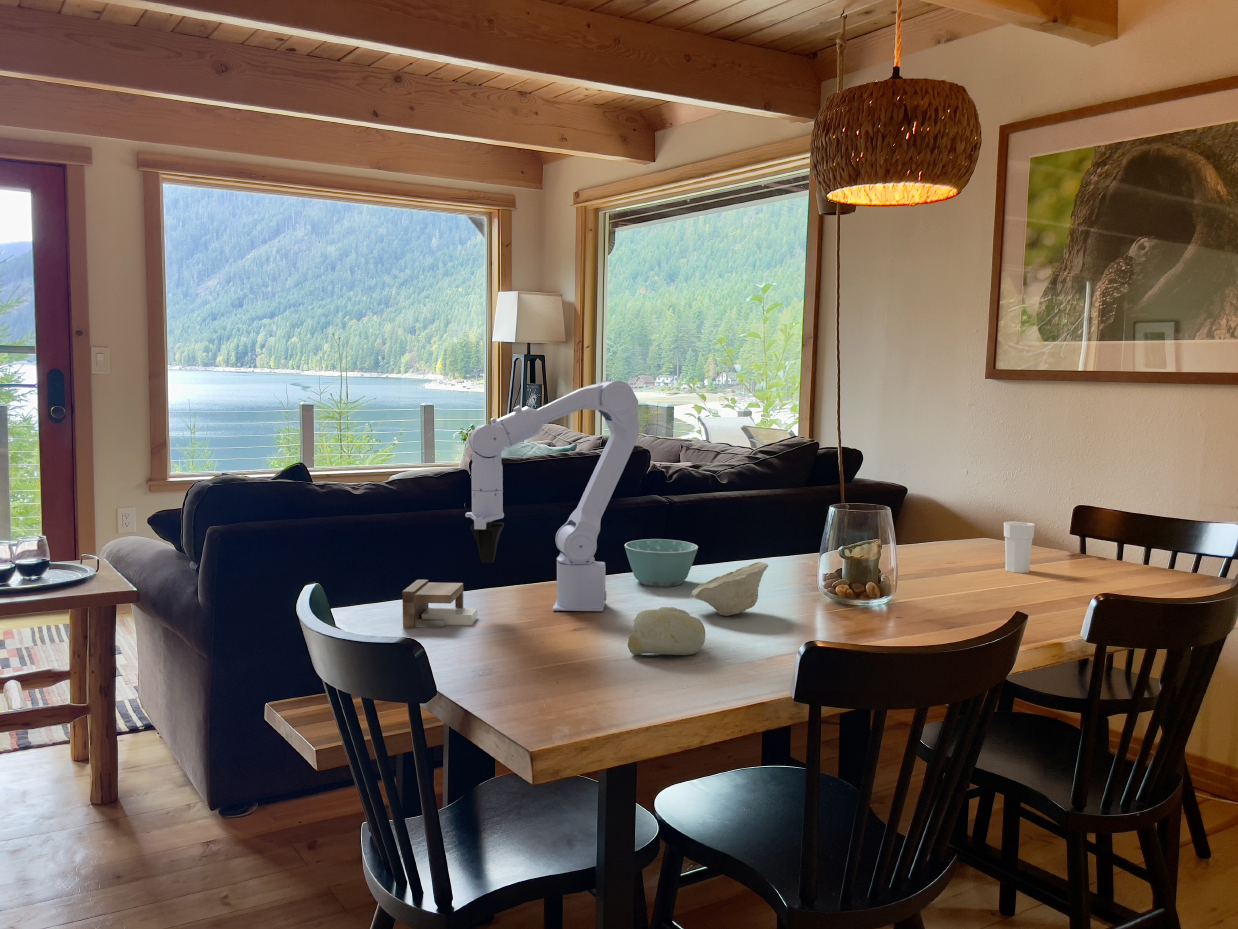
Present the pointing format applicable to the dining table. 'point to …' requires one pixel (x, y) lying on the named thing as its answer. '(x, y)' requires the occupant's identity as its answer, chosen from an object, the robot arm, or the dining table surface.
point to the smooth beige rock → (666, 632)
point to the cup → (1018, 545)
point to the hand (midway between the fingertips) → (487, 562)
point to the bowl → (660, 561)
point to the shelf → (428, 601)
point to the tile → (452, 615)
